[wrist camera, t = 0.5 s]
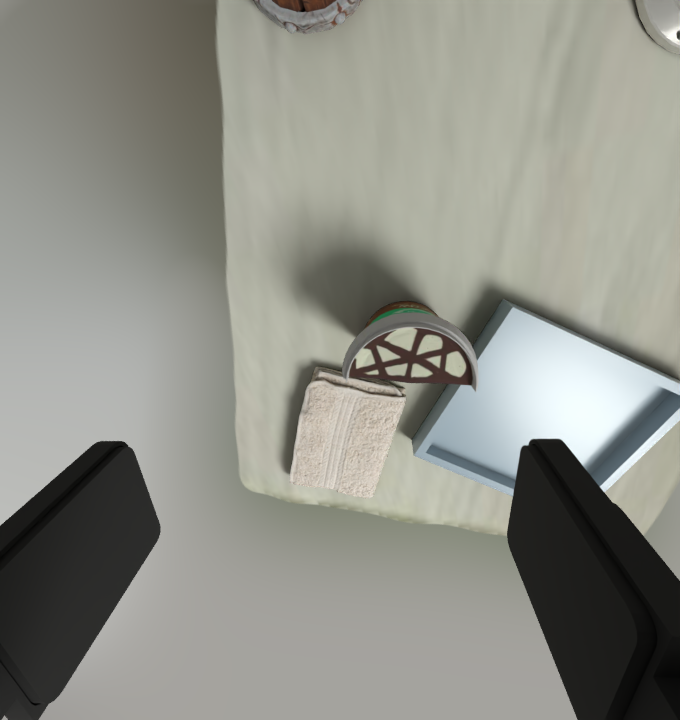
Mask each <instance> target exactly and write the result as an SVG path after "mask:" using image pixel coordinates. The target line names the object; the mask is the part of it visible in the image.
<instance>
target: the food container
mask: <svg viewBox="0 0 680 720" xmlns="http://www.w3.org/2000/svg"><path fill="white" fill-rule="evenodd" d="M342 375H343V379H346V383H347V381H348V378H349V377H354V378H374V379H384V380H391V381H398V382H406V383H442V384H457V385H470V386H472V388H473V389H474V391H475V392H477V389H478V382H479V377H478V364H477V359H476V355H475V352H474V350H473V348H472V346H471V344H470V342H469V341H468V339H467V338H466V336H465V335H464V334H463V333H462V332H461V331H460V330H459V329H458V328H456V327H455V326H454V325H452V324H451V323H449V322H448V321H446V320H443V319H441V318H439V317H438V315H437V314H436V313H434V312H433V311H432V310H430V309H429V308H428V307H426V306H425V305H422V304H419V303H416V302H411V301H400V302H395V303H392V304H389V305H386V306H385V307H383V308H381V309H380V310H378V311H377V312H376V313H375V314H374V315H373V316H372V317H371V318H370V320H369V321H368V323H367V324H366V327H365V329H364V330H363V331H362V332H361V333H360V334H359V335H358V336H357V337H356V338H355V339H354V341H353V342H352V344H351V345H350V347H349V349H348V351H347V353H346V355H345V358H344V362H343V367H342Z"/></svg>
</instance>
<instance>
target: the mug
mask: <svg viewBox="0 0 680 720" xmlns="http://www.w3.org/2000/svg"><path fill="white" fill-rule="evenodd" d="M253 1H254V2H255V4H256V5H257V7H258V8H259V10H260V11H261V12H262V13H264V14H265V15H266V16H267V17H269V18H270V19H271V20H272V21H274V22H275V23H276V24H277V25H279V26H280V27H281V28H285V29H287V31H288V32H290V33H294V32H295V31H296V32H300V33H303V34H309V33H314V32H319V31H325V30H330V29H332V28H333V27H334V26H336V25H337V24H342V23H343V22H344V21H345V19H346V18H347V17H349V16H350V15H352V14H353V13H354V11H355V10H356V9H357V7H358V6H359V4H360V3H361V2H362V0H253Z"/></svg>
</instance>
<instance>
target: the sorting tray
mask: <svg viewBox="0 0 680 720" xmlns="http://www.w3.org/2000/svg"><path fill="white" fill-rule="evenodd" d="M472 348H473V350H474V352H475V355H476V359H477V364H478V377H479V382H478V389H477V392H475V391H474V389H473V388H472V386H470V385H457V384H448V385H447V386H446V388H445V390H444V391H443V393H442V394H441V396H440V397H439V399H438V400H437V402H436V403H435V405H434V407H433V408H432V410H431V411H430V413H429V414H428V416H427V417H426V419H425V420H424V422H423V424H422V425H421V427H420V428H419V430H418V431H417V433H416V434H415V436H414V437H413V439H412V445H413V453H414V456H416V457H418V458H421V459H423V460H426V461H428V462H431V463H433V464H435V465H438V466H440V467H443V468H445V469H448V470H450V471H452V472H455V473H457V474H460V475H462V476H464V477H467V478H469V479H472V480H474V481H477V482H479V483H481V484H484V485H486V486H489V487H491V488H493V489H496V490H498V491H501V492H503V493H506V494H508V495H510V496H513V493H514V487H515V481H516V475H517V469H518V462H519V456H520V450H521V447H522V446H524V445H528V444H529V442H530V440H531V439H561V440H562V441H563V442H564V443H565V444H566V445H567V446H568V448H569V449H570V450H571V451H572V453H573V454H574V455H575V456H576V458H577V459H578V460H579V461H580V463H581V464H582V465H583V466H584V468H585V469H586V470H587V471H588V473H589V474H590V475H591V476H592V478H593V479H594V480H595V481H596V483H597V484H598V485H599V486H600V488H601V489H602V490H603V492H605V491H606V490H607V489H608V488H609V487H610V486H612V485H613V484H614V483H615V482H616V481H617V480H618V479H619V478H620V477H621V476H622V475H623V474H624V473H625V472H626V471H627V470H628V469H629V468H630V467H631V466H632V465H633V464H634V463H635V462H636V461H638V460H639V459H640V458H641V457H642V456H643V455H644V454H645V453H646V452H647V451H648V450H649V449H650V448H651V447H652V446H653V445H654V444H655V443H656V442H657V441H658V440H659V439H660V438H661V437H662V436H663V435H665V434H666V433H667V432H668V431H669V430H670V429H671V428H672V427H673V426H674V425H675V424H676V423H677V422H678V421H679V420H680V380H678V379H676V378H673V377H671V376H669V375H667V374H665V373H663V372H660V371H658V370H656V369H654V368H652V367H650V366H647V365H645V364H643V363H641V362H639V361H637V360H634V359H632V358H630V357H628V356H626V355H624V354H621V353H619V352H617V351H615V350H613V349H611V348H608V347H606V346H604V345H602V344H600V343H598V342H595V341H593V340H591V339H589V338H587V337H585V336H582V335H580V334H578V333H576V332H574V331H572V330H569V329H567V328H565V327H563V326H561V325H559V324H556V323H554V322H552V321H550V320H548V319H546V318H543V317H541V316H539V315H537V314H535V313H533V312H530V311H528V310H526V309H524V308H522V307H520V306H518V305H515V304H513V303H511V302H509V301H507V300H505V299H503V300H502V301H501V303H500V305H499V306H498V308H497V309H496V311H495V312H494V314H493V315H492V317H491V318H490V320H489V322H488V323H487V325H486V326H485V328H484V329H483V331H482V332H481V334H480V335H479V337H478V339H477V340H476V342H475V343H474V345H473V346H472Z"/></svg>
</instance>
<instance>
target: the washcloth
mask: <svg viewBox="0 0 680 720" xmlns="http://www.w3.org/2000/svg"><path fill="white" fill-rule="evenodd" d="M405 402H406V395H405V388H396V387H395V386H394V385H391V384H390V383H388V382H385V381H382V380H378V379H374V378H354V377H349V378H348V381H347V383H346V379H343V375H342V371H337V370H333V369H328V368H324V367H316V368H315V371H314V372H313V376H312V379H311V383H309V385H308V386H307V388H306V391H305V397H304V401H303V404H302V409H301V412H300V415H299V420H298V427H297V434H296V440H295V445H294V452H293V461H292V465H291V471H290V483H293V484H297V485H304V486H309V487H323V488H328V489H335V490H336V491H337V492H341V493H345V494H348V495H353V496H357V497H363V498H367V499H368V498H369V499H370V498H371V497H372V496H374V491H375V489H376V486H377V482H378V481H379V476H380V475H381V471H382V467H383V466H384V461H385V459H386V458H387V457H388V454H387V453H388V450H389V448H390V444H391V443H392V439H393V435H394V433H395V431H396V428H397V424H398V422H399V419H400V416H401V415H402V411H403V408H404V406H405V404H406V403H405Z"/></svg>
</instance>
